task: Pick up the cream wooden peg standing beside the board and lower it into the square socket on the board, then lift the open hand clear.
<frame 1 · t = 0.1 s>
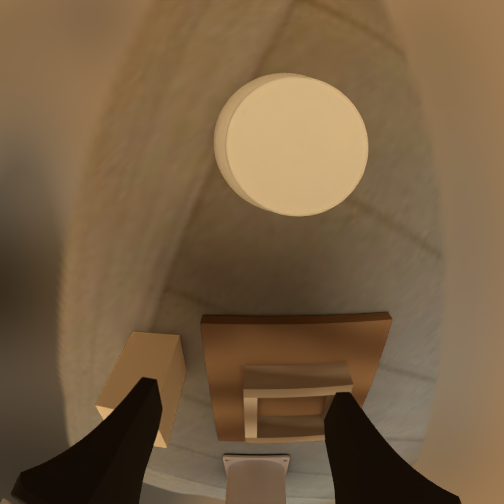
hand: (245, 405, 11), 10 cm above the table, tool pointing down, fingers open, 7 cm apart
supplement bottle: (275, 139, 16), on the table
peg: (160, 352, 23), on the table
socket board: (291, 388, 24), on the table
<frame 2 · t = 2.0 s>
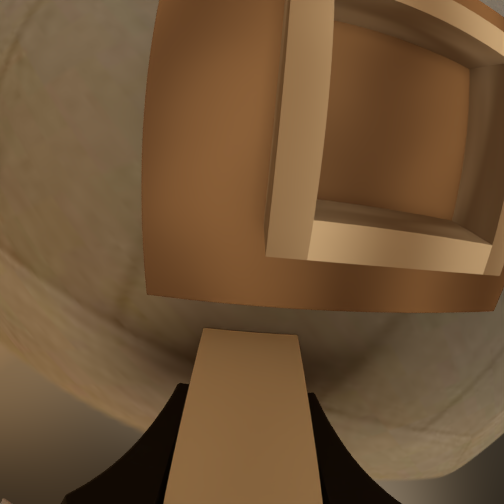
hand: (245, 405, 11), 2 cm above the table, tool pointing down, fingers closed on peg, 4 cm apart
peg: (247, 365, 13), on the table, touching gripper
socket board: (387, 121, 9), on the table
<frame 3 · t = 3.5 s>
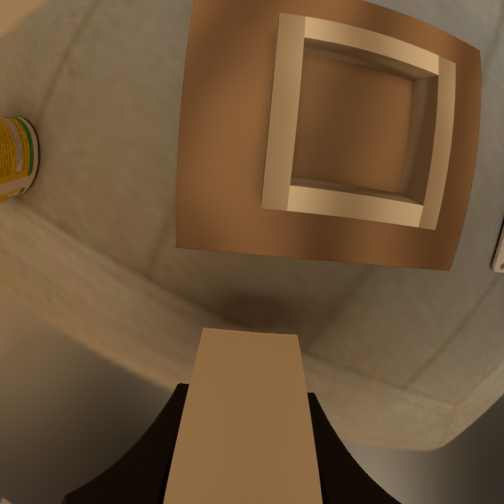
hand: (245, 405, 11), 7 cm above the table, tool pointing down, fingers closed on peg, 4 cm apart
supplement bottle: (17, 155, 14), on the table
peg: (246, 365, 13), point 5 cm above the table, touching gripper
socket board: (347, 123, 13), on the table
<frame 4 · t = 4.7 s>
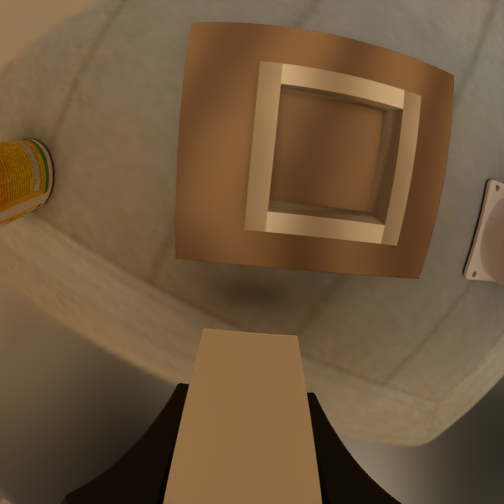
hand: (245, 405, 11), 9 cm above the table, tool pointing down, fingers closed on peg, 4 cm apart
supplement bottle: (32, 173, 16), on the table
peg: (246, 365, 13), point 7 cm above the table, touching gripper
socket board: (322, 151, 16), on the table
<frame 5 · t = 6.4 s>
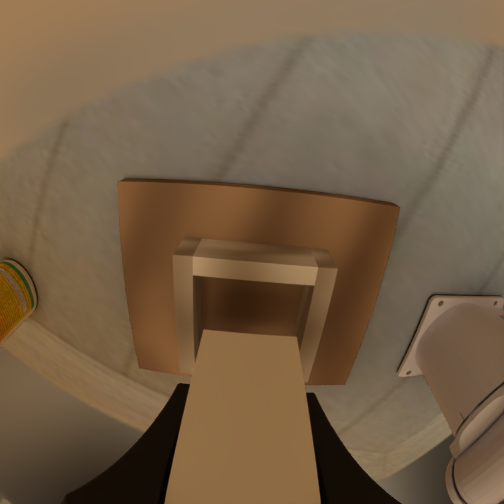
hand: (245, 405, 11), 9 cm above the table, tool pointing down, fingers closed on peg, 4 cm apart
supplement bottle: (19, 284, 19), on the table
peg: (246, 366, 13), point 6 cm above the table, touching gripper
socket board: (250, 296, 19), on the table
when the fingers open (4 cm above the table, at t = 7.7 s): peg stays where it is, resting on socket board.
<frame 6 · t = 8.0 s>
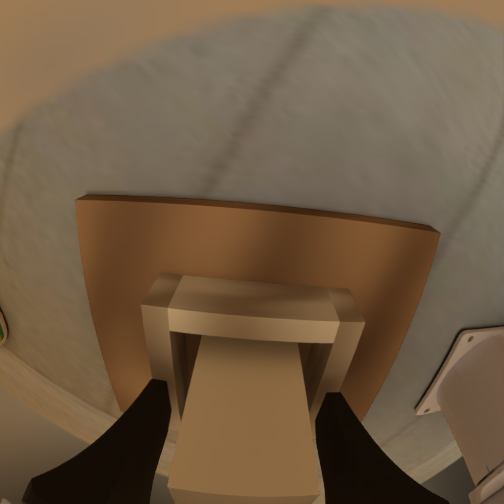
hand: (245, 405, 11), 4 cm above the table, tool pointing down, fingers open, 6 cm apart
peg: (247, 356, 14), point 1 cm above the table, touching socket board
socket board: (248, 341, 15), on the table
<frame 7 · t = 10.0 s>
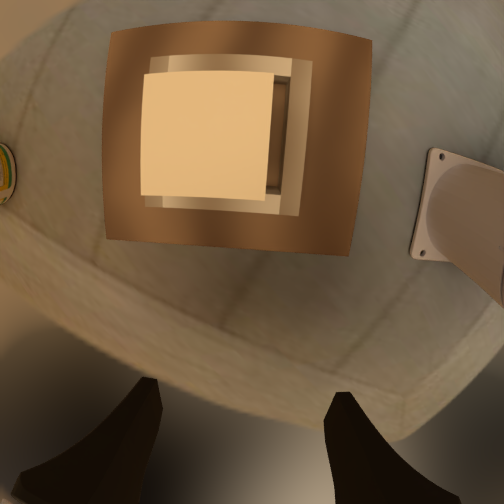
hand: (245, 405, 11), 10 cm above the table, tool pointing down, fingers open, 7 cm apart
supplement bottle: (1, 172, 17), on the table
peg: (228, 133, 16), point 1 cm above the table, touching socket board
socket board: (230, 131, 17), on the table
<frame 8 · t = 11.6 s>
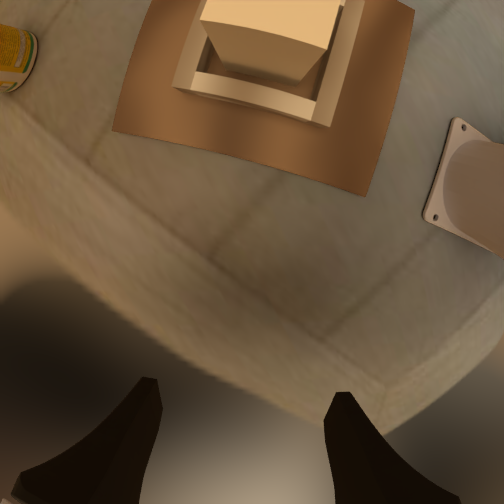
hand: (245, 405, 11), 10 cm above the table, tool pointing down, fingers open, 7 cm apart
supplement bottle: (19, 61, 14), on the table
peg: (269, 47, 14), point 1 cm above the table, touching socket board
socket board: (269, 50, 14), on the table
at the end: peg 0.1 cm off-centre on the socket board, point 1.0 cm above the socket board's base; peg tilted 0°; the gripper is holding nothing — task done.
